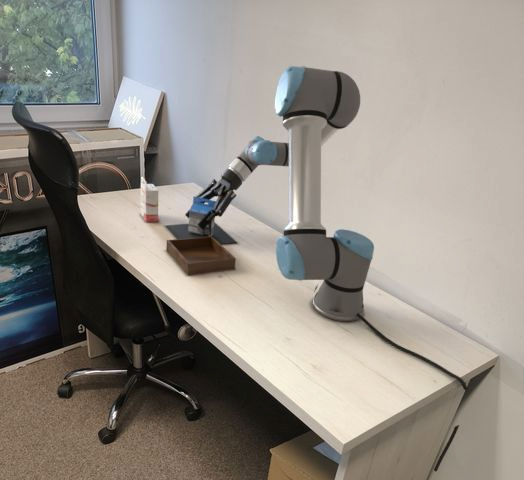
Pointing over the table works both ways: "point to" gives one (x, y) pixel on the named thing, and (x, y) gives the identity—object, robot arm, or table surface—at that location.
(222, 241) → the mat
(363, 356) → the table surface
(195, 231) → the blue gray retail box
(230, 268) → the wooden tray
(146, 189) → the ink cartridge box
